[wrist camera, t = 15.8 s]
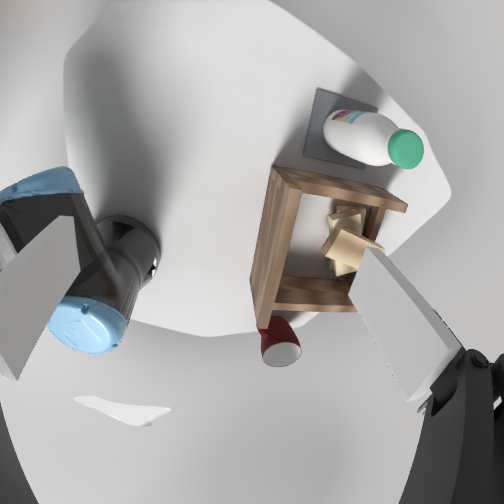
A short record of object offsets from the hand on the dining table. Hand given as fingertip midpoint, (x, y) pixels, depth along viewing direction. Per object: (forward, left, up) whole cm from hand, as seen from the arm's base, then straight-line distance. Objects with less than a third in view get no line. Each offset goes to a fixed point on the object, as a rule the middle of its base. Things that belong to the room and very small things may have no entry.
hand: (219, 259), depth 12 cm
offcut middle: (+13, -25, -35) cm, 45 cm away
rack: (+9, -23, -37) cm, 44 cm away
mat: (+20, -6, -37) cm, 42 cm away
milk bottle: (+20, -6, -36) cm, 42 cm away
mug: (-8, -38, -37) cm, 54 cm away
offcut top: (+13, -26, -32) cm, 43 cm away
